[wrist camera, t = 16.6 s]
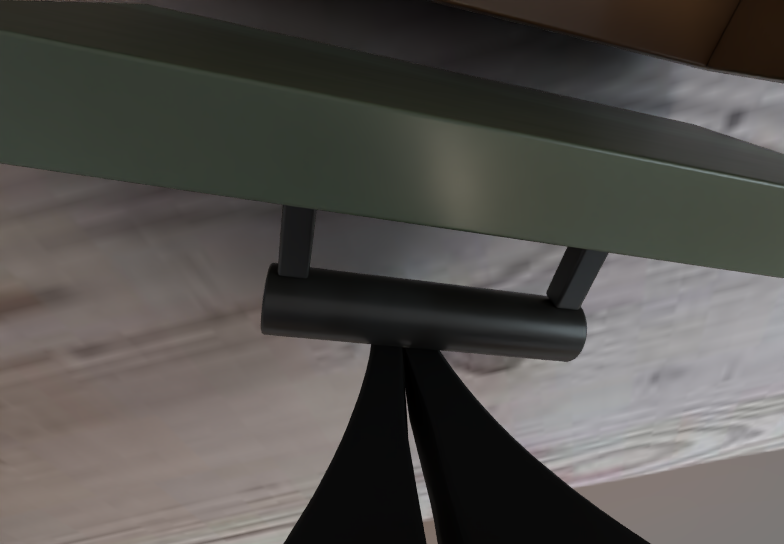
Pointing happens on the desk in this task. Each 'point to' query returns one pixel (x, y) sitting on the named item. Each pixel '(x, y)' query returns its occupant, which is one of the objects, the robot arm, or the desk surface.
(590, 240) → the drawer
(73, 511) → the desk surface
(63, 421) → the desk surface
